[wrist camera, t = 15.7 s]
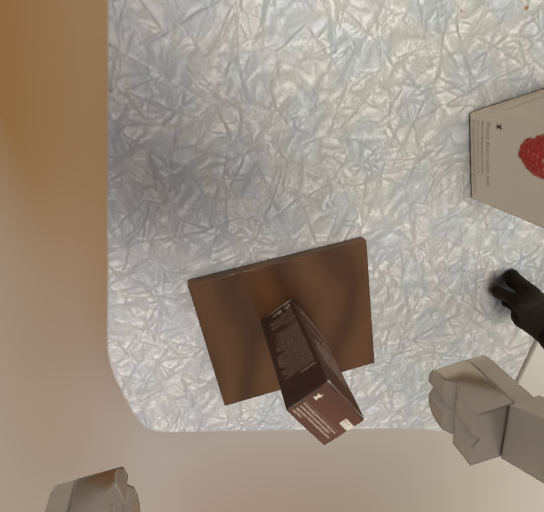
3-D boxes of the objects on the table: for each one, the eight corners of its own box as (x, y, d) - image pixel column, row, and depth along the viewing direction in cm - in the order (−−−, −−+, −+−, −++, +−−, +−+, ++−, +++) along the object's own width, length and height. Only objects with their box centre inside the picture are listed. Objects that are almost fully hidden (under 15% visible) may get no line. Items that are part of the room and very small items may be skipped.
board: (224, 399, 45) (224, 406, 44) (187, 280, 38) (187, 284, 37) (370, 357, 47) (374, 362, 46) (362, 236, 40) (366, 240, 39)
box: (257, 322, 40) (284, 411, 29) (292, 296, 40) (333, 377, 29) (288, 356, 43) (324, 449, 32) (322, 332, 42) (369, 418, 32)
